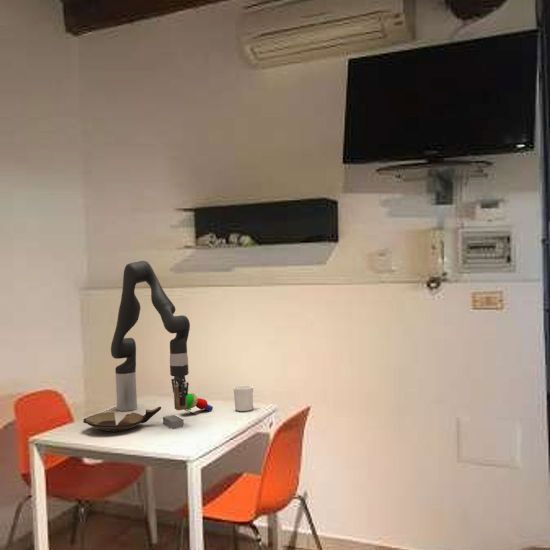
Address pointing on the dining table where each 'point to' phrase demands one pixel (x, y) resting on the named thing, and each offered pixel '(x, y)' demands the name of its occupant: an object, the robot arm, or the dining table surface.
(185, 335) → the robot arm
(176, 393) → the block
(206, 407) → the toy
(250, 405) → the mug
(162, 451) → the dining table surface
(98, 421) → the oil lamp
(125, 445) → the dining table surface
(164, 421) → the hammer head
